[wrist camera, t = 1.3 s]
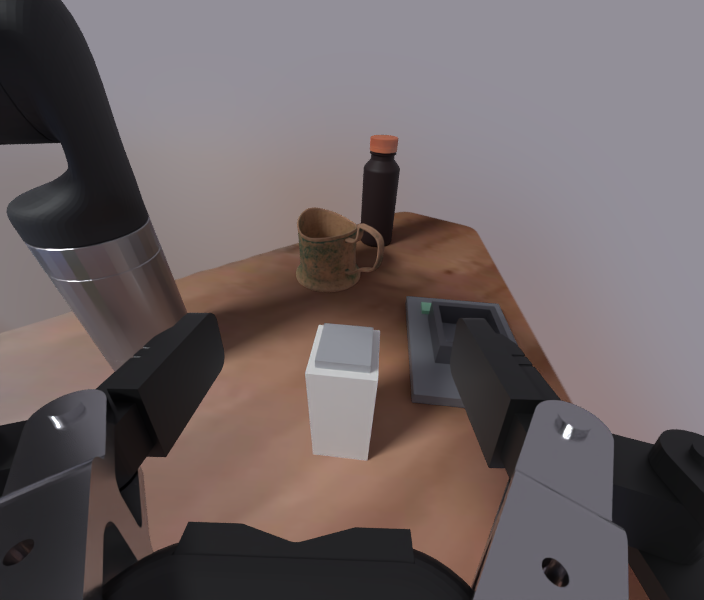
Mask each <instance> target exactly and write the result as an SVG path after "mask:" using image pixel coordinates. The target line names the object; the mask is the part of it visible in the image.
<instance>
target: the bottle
mask: <svg viewBox="0 0 704 600" xmlns="http://www.w3.org/2000/svg"><path fill="white" fill-rule="evenodd" d="M397 145H398V138H397V137H395V136H389V135H374V136H371V141H370V153H371V159H370V160H369V161H368V162H367V163H366V165H365V166H364V174H363V193H362V212H361V224H362V223H364V224H366V225H368V226H370V227H372V228H374V229H375V230H377V231H378V232H379V233H380V234H381V236H382V237H383V240H384V246H385V245H387V244H389V243H390V242H391V237H392V229H393V221H394V213H395V205H396V196H397V187H398V180H399V171H400V168H399V166H398V164H397V163H396V162H395V160H394V155H396V152H397ZM361 241H362V242H363V243H364V244H366V245H369V246H374V247H378V245H377V241H376V239H375V238H374V237H373V236H372V235H371V234H370V233H369V232H367V231H365V230H364V232H363V236H362V238H361Z"/></svg>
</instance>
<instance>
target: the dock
mask: <svg viewBox="0 0 704 600" xmlns="http://www.w3.org/2000/svg"><path fill="white" fill-rule="evenodd" d="M405 305H406V320H407V336H408V351H409V366H410V382H411V397H412V402H414V403H423V404H432V405H442V406H451V407H460V408H465V407H464V405H463V402H462V400H461V397H460V395H459V392H458V390H457V387H456V385H455V382H454V380H453V377H452V374H451V369H450V357H451V351H452V346H453V340H454V335H455V330H456V324H457V321H458V319H459V318H484V319H485V320H486V321H487V322H488V323H489V325H490V326H491V328H492V329H493V330H494V332H495V333H496V334H502V335H504V336H505V337H507V338H508V339H510V340H511V341H513V342H514V343H516V341H515V338H514V336H513V334H512V332H511V330H510V328H509V326H508V323H507V321H506V319H505V317H504V315H503V313H502V311H501V308H500V306H499V304H493V303H481V302H469V301H458V300H446V299H434V298H423V297H411V296H407V298H406V303H405ZM516 344H517V343H516ZM517 346H518V345H517Z"/></svg>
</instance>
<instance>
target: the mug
mask: <svg viewBox="0 0 704 600" xmlns="http://www.w3.org/2000/svg"><path fill="white" fill-rule="evenodd" d="M297 227H298V234H299V247H300V263H301V264H300V265H299V267H298V268H297V270H296V278H297V280H298V282H299V283H300V284H301V285H302V286H304V287H306V288H308V289H310V290H313V291H318V292H338V291H343V290H346V289H348V288H350V287H352V286H354V285H355V284H356V283H357V282H358V281H359V279H360V274H361V272H371V271H374V270H376V269H377V268H378V267H379V266H380V264H381V262H382V259H383V254H384V240H383V237H382V236H381V234H380V233H379V232H378V231H377V230H375V229H374V228H372V227H370V226H368V225H366V224H364V223H362V224H360V225H358V230H357V225H356V224H355V223H354V222H352V221H350V220H349V219H347V218H345V217H343V216H342V215H340V214H337V213H335V212H332V211H329V210H325V209H321V208H308V209H306V210H305V211H303V212H302V213H301V215H300V216H299V218H298V222H297ZM364 230H365V231H367V232H369V233H370V234H371V235H372V236H373V237H374V238H375V239H376V241H377V245H378V251H377V259H376V262H375V265H374V266H373V268H368V267H363V268H360V269H359V267H358V266H357V265H356V242H358V241H360V240H361V238H362V236H363V232H364Z"/></svg>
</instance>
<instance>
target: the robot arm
mask: <svg viewBox="0 0 704 600" xmlns="http://www.w3.org/2000/svg"><path fill="white" fill-rule="evenodd" d="M40 143H61V145H62V147H63V150H64V152H65V155H66V159H67V162H68V169H67V171H66V172H65V173H64V174H62V175H61V176H60V177H58V178H57V179H55V180H53V181H51V182H49V183H46V184H44V185H41V186H39V187H36V188H34V189H31V190H29V191H27V192H25V193H23V194H21V195H19V196H18V197H16V198H15V199H14V200H13V201H11V202H10V203H9V205H8V207H7V215H8V218H9V220H10V222H11V223H12V225H13V227H14V228H15V229H16V230H17V232H18V234H19V235H20V237H21V238H22V239H23V241H24V242H25V244H26V245H27V247H28V248H29V249H30V251H31V252H32V254H33V255H34V257H35V258H36V259H37V261H38V262H39V264H40V265H41V267H42V268H43V270H44V271H45V272H46V273H47V275H48V276H49V278H50V279H51V281H52V282H53V284H54V285H55V287H56V288H57V289H58V291H59V292H60V294H61V295H62V296H63V298H64V299H65V301H66V302H67V304H68V305H69V307H70V308H71V310H72V311H73V312H74V314H75V315H76V317H77V318H78V320H79V321H80V322H81V324H82V325H83V327H84V328H85V330H86V331H87V333H88V334H89V335H90V337H91V338H92V340H93V341H94V343H95V344H96V345H97V347H98V348H99V350H100V351H101V353H102V354H103V356H104V357H105V359H106V360H107V361H108V363H109V364H110V366H111V367H112V369H113V370H114V371H115V372H114V373H113V374H112V375H111V376H110V377H109V378H108V379H106V380H105V381H104V382H103V383H102V384H101V385H100V386H99V387H98V388H96V389H88V390H81V391H76V392H73V393H70V394H67V395H64V396H62V397H59V398H57V399H55V400H53V401H51V402H50V403H48V404H46V405H45V406H43V407H42V408H40V409H39V410H38V411H36V412H35V413H34V414H33V415H32V416H31V417H30V418H29V419H28V420H26V421H21V422H16V423H11V424H6V425H1V426H0V600H629V595H628V563H629V565H630V567H631V568H632V570H633V572H634V573H635V575H636V577H637V578H638V580H639V582H640V583H641V585H642V587H643V589H644V590H645V592H646V594H647V595H648V597H649V599H650V600H704V436H702V435H699V434H696V433H693V432H689V431H685V430H667V431H664V432H663V433H662V434H661V435H660V437H659V438H658V440H657V441H656V443H655V444H650V443H646V442H642V441H638V440H634V439H630V438H626V437H623V436H619V435H615V434H612V433H611V432H610V430H609V429H608V427H607V426H606V425H605V424H604V423H603V422H602V421H601V420H600V419H599V418H597V417H596V416H595V415H593V414H592V413H590V412H589V411H587V410H585V409H583V408H581V407H579V406H577V405H574V404H571V403H568V402H564V401H561V400H560V398H559V397H558V396H557V395H556V393H555V392H554V391H553V390H552V388H551V387H550V386H549V385H548V383H547V382H546V381H545V380H544V378H543V377H542V376H541V375H540V373H539V372H538V371H537V370H536V368H535V367H533V366H532V363H531V362H530V361H529V359H528V358H527V357H525V354H524V353H523V352H522V351H521V349H520V348H519V347H518V346H517V344H516V343H514V342H513V341H511V340H510V339H508V338H507V337H505V336H504V335H502V334H496V333H495V332H494V330H493V329H492V328H491V326H490V325H489V323H488V322H487V321H486V320H485V319H484V318H459V319H458V321H457V324H456V330H455V335H454V340H453V346H452V351H451V357H450V369H451V374H452V377H453V380H454V382H455V385H456V387H457V390H458V392H459V395H460V397H461V400H462V402H463V405H464V407H465V410H466V412H467V415H468V417H469V420H470V422H471V425H472V427H473V430H474V432H475V435H476V437H477V440H478V442H479V445H480V447H481V450H482V452H483V455H484V457H485V460H486V462H487V465H488V467H489V468H505V469H506V471H507V474H508V476H509V480H508V482H507V485H506V488H505V491H504V494H503V497H502V500H501V502H500V505H499V508H498V511H497V514H496V517H495V520H494V523H493V526H492V529H491V531H490V534H489V537H488V540H487V543H486V546H485V549H484V552H483V554H482V557H481V560H480V563H479V565H478V568H477V571H476V574H475V577H474V579H473V582H472V585H471V587H470V586H469V585H468V584H467V583H466V582H465V581H464V580H463V579H462V578H460V577H459V576H458V575H457V574H456V573H455V572H453V571H452V570H451V569H450V568H448V567H447V566H445V565H444V564H442V563H441V562H439V561H438V560H436V559H434V558H433V557H431V556H429V555H427V554H425V553H423V552H420V551H417V550H415V549H413V548H412V540H411V532H410V529H385V528H356V527H355V528H351V529H347V530H344V531H340V532H336V533H332V534H329V535H325V536H321V537H317V538H314V539H310V540H306V541H302V542H291V541H288V540H285V539H282V538H280V537H277V536H274V535H272V534H269V533H266V532H263V531H261V530H258V529H255V528H253V527H250V526H247V525H245V524H238V523H209V522H188V524H187V526H186V529H185V531H184V533H183V535H182V537H181V539H180V541H179V543H176V544H173V545H170V546H168V547H165V548H162V549H160V550H158V551H156V552H153V549H152V545H151V541H150V536H149V527H148V516H147V506H146V496H145V485H144V475H143V470H142V468H141V466H140V465H141V464H142V462H143V461H144V460H145V458H146V457H166V456H167V455H168V453H169V452H170V450H171V448H172V447H173V445H174V444H175V442H176V441H177V439H178V437H179V436H180V434H181V433H182V431H183V430H184V428H185V426H186V425H187V423H188V422H189V420H190V419H191V417H192V415H193V414H194V412H195V411H196V409H197V408H198V406H199V404H200V403H201V401H202V400H203V398H204V397H205V395H206V393H207V392H208V390H209V389H210V387H211V386H212V384H213V382H214V381H215V379H216V378H217V376H218V375H219V373H220V371H221V370H222V367H223V364H224V349H223V345H222V340H221V336H220V332H219V327H218V323H217V319H216V317H215V315H214V314H212V313H187V311H186V308H185V306H184V303H183V301H182V298H181V295H180V293H179V290H178V288H177V285H176V283H175V280H174V278H173V276H172V273H171V270H170V268H169V266H168V263H167V260H166V257H165V255H164V252H163V250H162V247H161V245H160V243H159V240H158V238H157V235H156V233H155V230H154V228H153V225H152V223H151V220H150V217H149V215H148V213H147V210H146V208H145V205H144V202H143V200H142V197H141V194H140V191H139V188H138V185H137V182H136V179H135V176H134V174H133V171H132V168H131V166H130V163H129V160H128V158H127V155H126V152H125V150H124V147H123V144H122V141H121V138H120V136H119V132H118V129H117V127H116V123H115V121H114V117H113V114H112V111H111V108H110V105H109V102H108V99H107V96H106V93H105V89H104V87H103V83H102V81H101V78H100V75H99V72H98V69H97V67H96V64H95V61H94V59H93V56H92V54H91V52H90V49H89V47H88V45H87V42H86V40H85V38H84V36H83V34H82V32H81V31H80V28H79V27H78V25H77V23H76V21H75V20H74V18H73V16H72V15H71V13H70V12H69V11H68V9H67V8H66V6H65V5H64V4H63V2H62V1H61V0H0V145H2V144H3V145H5V144H40Z"/></svg>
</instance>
